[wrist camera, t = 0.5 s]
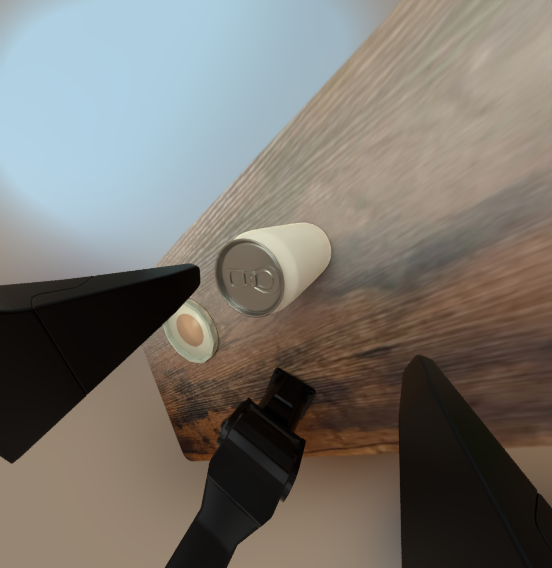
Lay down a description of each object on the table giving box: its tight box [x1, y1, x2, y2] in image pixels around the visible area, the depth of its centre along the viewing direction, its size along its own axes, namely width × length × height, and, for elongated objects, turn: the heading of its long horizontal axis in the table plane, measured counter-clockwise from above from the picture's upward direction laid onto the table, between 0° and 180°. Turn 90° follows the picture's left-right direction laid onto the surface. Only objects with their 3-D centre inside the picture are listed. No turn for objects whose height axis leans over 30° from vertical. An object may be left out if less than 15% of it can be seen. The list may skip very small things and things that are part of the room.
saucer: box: [163, 298, 218, 363], centre depth 38 cm, size 12×12×1 cm
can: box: [215, 223, 331, 318], centre depth 20 cm, size 6×6×12 cm
